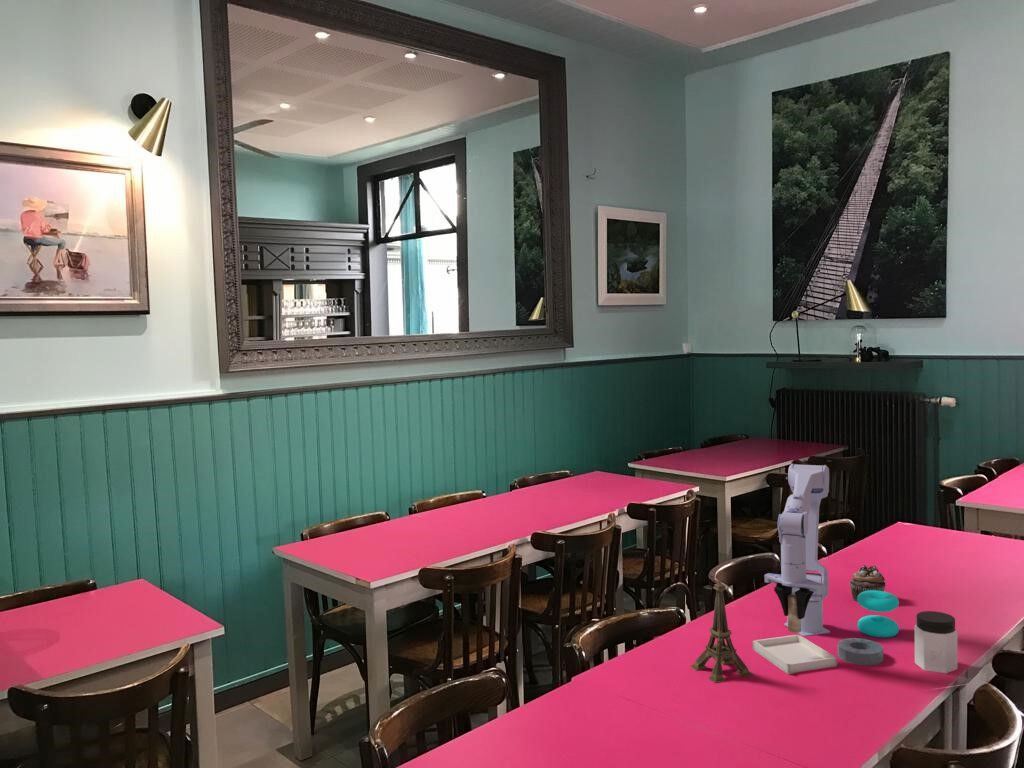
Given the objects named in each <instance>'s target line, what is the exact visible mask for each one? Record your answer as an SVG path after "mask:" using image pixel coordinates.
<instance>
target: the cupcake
mask: <svg viewBox="0 0 1024 768" xmlns="http://www.w3.org/2000/svg"><path fill="white" fill-rule="evenodd" d="M885 581H886V580H885V577H884V575H883V574H882V573H881V572H880V571H879V568H878V567H877V566H876V565H871V566H868V567H867V566H866V565H862V566H861V567H860V568H859V569H858V570H857V572H854V573H852V579H851V580H850V581H848V582H849V587H850V592H851V595H852V596H851V597H852V599H854V601H855V602H857V603H858V601H857V597H858V595H859V594H860V593H861V592H864V591H871V590H875V591H884V592H885V588H886V586H887V585H886V582H885Z"/></svg>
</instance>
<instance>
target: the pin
mask: <svg viewBox="0 0 1024 768" xmlns="http://www.w3.org/2000/svg"><path fill="white" fill-rule="evenodd" d="M787 631H789V632H790V633H797V634H799V633H798V632H801V619H798V616H797V600H796V596H795V594H790V595H788V627H787Z"/></svg>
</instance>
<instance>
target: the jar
mask: <svg viewBox="0 0 1024 768" xmlns="http://www.w3.org/2000/svg"><path fill="white" fill-rule="evenodd" d="M914 664H916V665H917V666H918V667H920V668H921V669H922V670H923V671H926V672H927V671H928V672H934V673H941V674H948V673H950V672H954V671H956V670H958V629H956V618H955V617H954V616H953V615H951V614H948V613H945V612H941V611H933V610H925V611H920V612H918V613H917V614H916V624H914Z"/></svg>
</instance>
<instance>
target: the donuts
mask: <svg viewBox="0 0 1024 768" xmlns="http://www.w3.org/2000/svg"><path fill="white" fill-rule="evenodd" d="M857 601H858V602H857ZM857 601H856V602H857V603H858V604H859V606H861V607H862V608H864V609H866V610H868V611H871V612H878V613H886V612H887V613H888V612H891V611H894V610H897V608H898V607H899V605H900V601H899V599H898V597H897V596H896V595H895V594H893V593H890V592H887V591H885V590H884V591H875V590H871V591H864V592H861V593H860V594H859V595H858V597H857ZM857 628H858V630H859V631H860V632H861V633H862V634H865V635H867V636H870V637H876V638H892V637H894V636H896V635H898V633H899V631H900V627H899V625H898V622H897V621H896V620H893V619H892V618H890V617H887V616H884V615H876V614H875V615H874V614H873V615H872V614H870V615H866V616H862V617H861V618H859V620H858V621H857Z"/></svg>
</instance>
